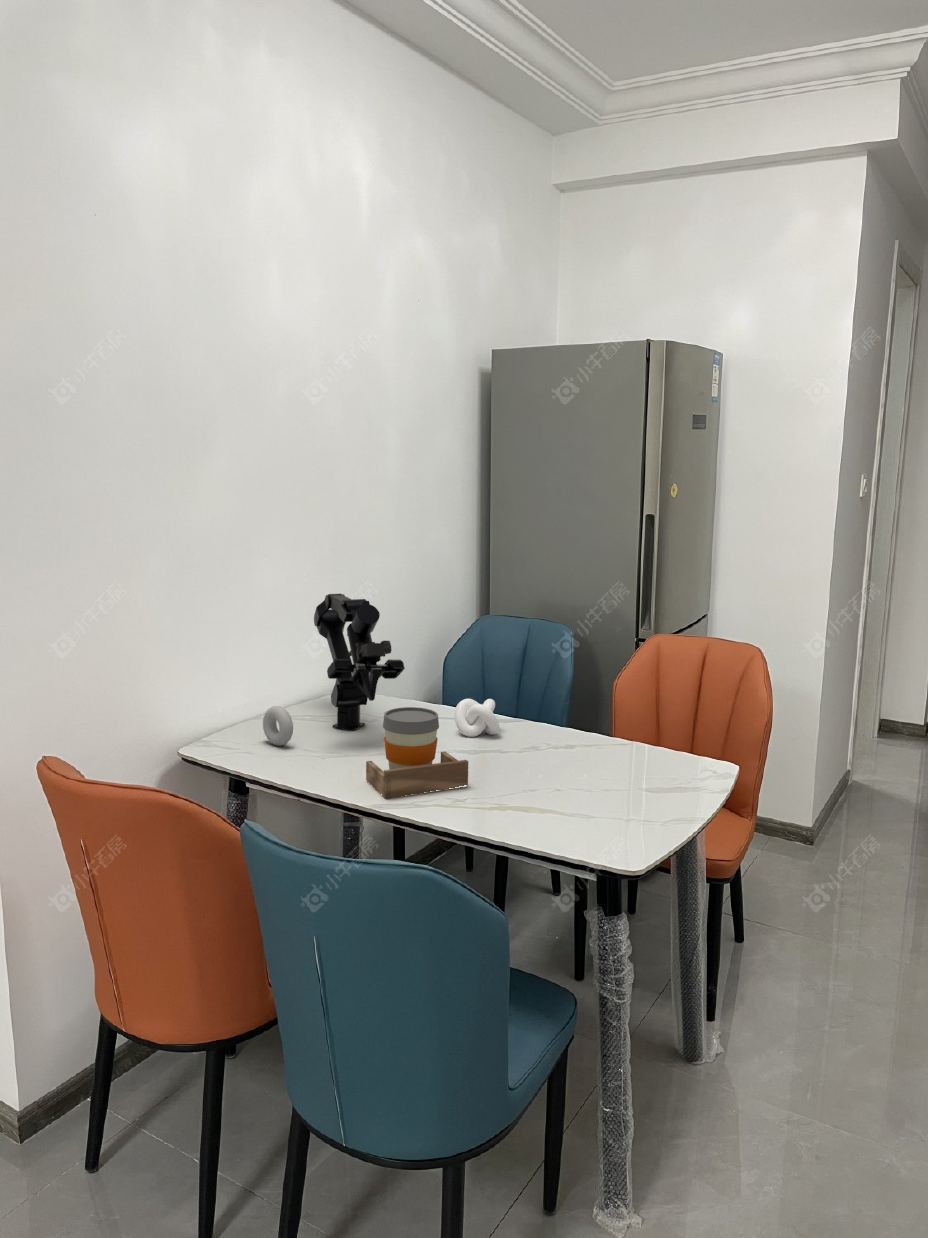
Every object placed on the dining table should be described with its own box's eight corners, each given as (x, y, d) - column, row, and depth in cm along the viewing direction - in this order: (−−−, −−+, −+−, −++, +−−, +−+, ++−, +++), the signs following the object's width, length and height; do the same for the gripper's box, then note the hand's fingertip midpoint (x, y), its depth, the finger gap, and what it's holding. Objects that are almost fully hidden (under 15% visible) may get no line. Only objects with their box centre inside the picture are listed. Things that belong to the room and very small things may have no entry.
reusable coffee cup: (370, 778, 213) (371, 713, 210) (410, 765, 222) (411, 703, 219) (409, 792, 204) (410, 726, 202) (449, 779, 213) (450, 715, 211)
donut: (296, 748, 232) (296, 709, 230) (285, 751, 230) (284, 711, 228) (271, 739, 239) (270, 701, 237) (260, 742, 236) (259, 703, 234)
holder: (366, 780, 211) (366, 754, 210) (445, 770, 219) (445, 745, 218) (385, 799, 200) (385, 772, 199) (467, 787, 208) (468, 761, 207)
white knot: (459, 741, 241) (460, 707, 239) (449, 728, 252) (450, 695, 251) (502, 739, 244) (503, 706, 242) (490, 726, 255) (491, 694, 253)
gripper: (337, 627, 226) (348, 685, 219) (407, 629, 236) (420, 685, 229) (322, 648, 234) (332, 706, 228) (389, 650, 244) (401, 704, 237)
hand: (372, 700), depth 230 cm, fingers closed
